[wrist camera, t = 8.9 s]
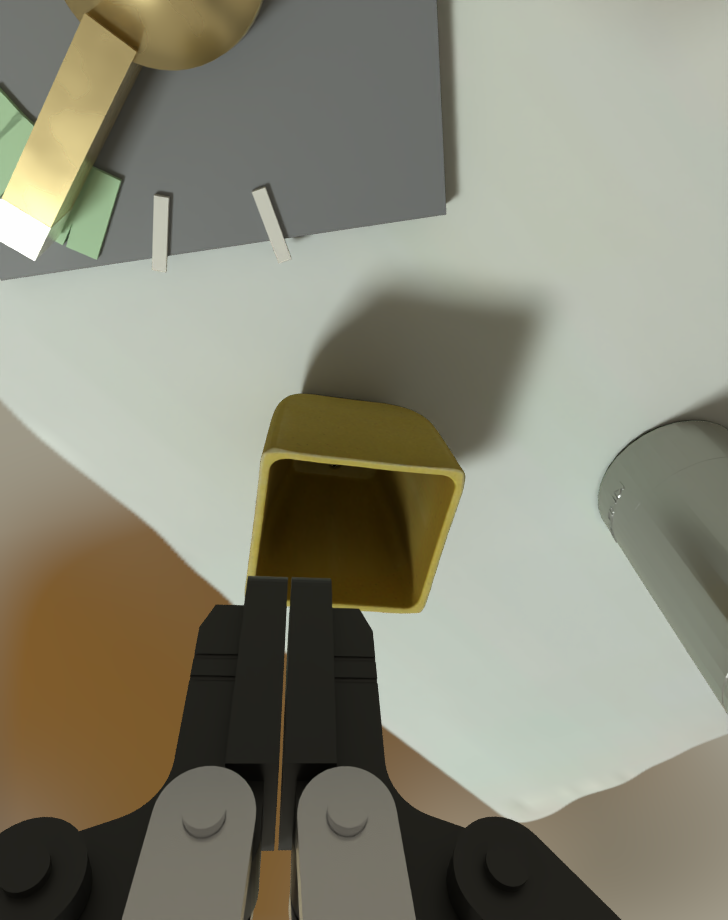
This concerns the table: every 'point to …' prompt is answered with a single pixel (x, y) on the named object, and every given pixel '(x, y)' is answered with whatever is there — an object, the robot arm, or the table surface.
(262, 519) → the flower pot
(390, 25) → the board
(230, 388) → the table surface
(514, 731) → the table surface
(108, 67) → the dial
